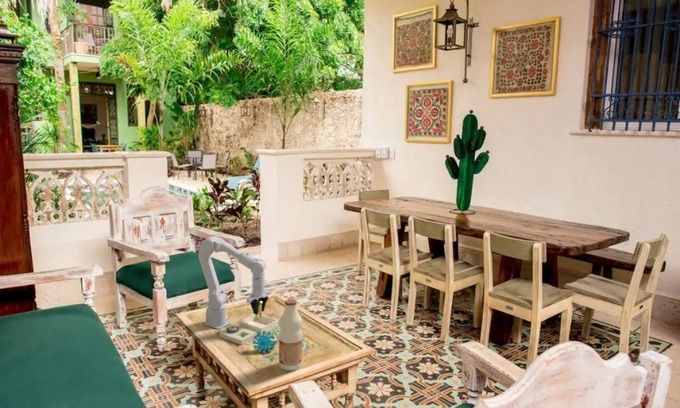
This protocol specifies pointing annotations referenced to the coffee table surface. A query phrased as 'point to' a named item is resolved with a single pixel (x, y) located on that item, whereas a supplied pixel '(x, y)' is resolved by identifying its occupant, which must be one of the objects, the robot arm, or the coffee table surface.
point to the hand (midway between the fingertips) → (258, 312)
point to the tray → (259, 324)
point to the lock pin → (259, 311)
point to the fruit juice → (290, 337)
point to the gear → (264, 342)
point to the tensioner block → (237, 334)
